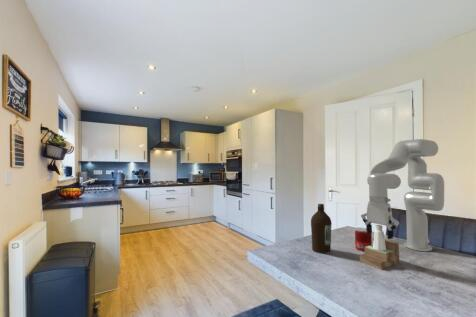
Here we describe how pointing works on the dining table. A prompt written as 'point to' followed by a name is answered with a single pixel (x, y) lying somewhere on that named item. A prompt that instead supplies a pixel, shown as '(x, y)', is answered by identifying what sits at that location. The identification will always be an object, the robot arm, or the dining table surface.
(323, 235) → the olive oil
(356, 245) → the canned food
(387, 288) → the dining table surface
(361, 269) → the dining table surface
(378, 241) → the pepper shaker
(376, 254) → the stand
